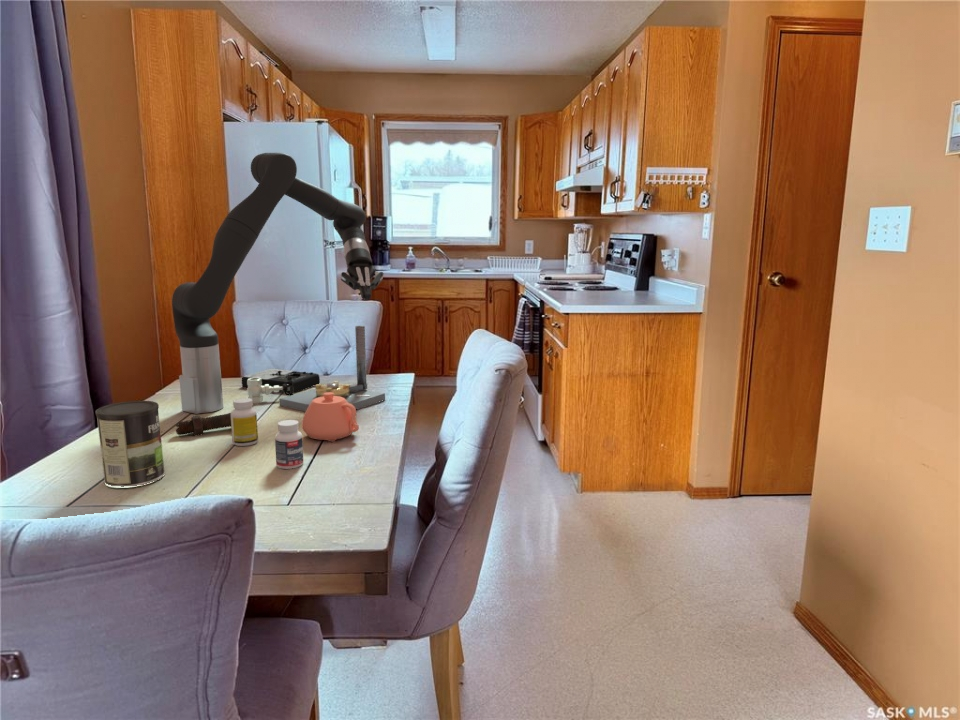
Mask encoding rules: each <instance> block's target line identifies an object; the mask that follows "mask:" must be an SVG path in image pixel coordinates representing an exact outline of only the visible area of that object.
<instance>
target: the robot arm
mask: <svg viewBox="0 0 960 720" xmlns="http://www.w3.org/2000/svg"><path fill="white" fill-rule="evenodd" d="M297 169H298V168H297V163H296V160H295V159H294V157H292V156H291V155H290V154H287V153H284V152H263V153H262V152H261V153H258V154H257V155H255V156H254V158H253V159H252V160H251V162H250V172H251V176H252V178H253V179H254V180H255V181H256V182H257V183H258V184H257V186H256V188H255V189H254V190H253V191H252V192H251V193H250V194H249V195H248V196H247V197H245V198H244V199H243V200H242V201H240V203H238V204H237V205H236V206H235V207H233V209H230V211H229V212H228V214H227V215H226V217H225V218H224V220H223V221H222V222H221V224H220V226H219V228H218V229H217V232H216V233H215V236H214V240H213V245H212V251H211V257H210V259H209V260H210V261H209V262H208V265H207V267H206V268H205V269H204V271H203V273H202V274H201V275H200V278H199V279H197V281H196V282H191V281H190V282H183V283H180V284H179V285H178V286H177V287H175V289H174V291H173V293H172V296H171V297H172V298H171V309H172V316H173V322H174V323H173V325H174V331H175V334H176V336H177V338H178V340H179V341H178V342H179V349H180V361H181V362H180V363H181V373H182V374H180V375H179V376H178V379H179V389H180V390H179V391H180V401H181V411H183V412H187V413H190V414H194V415H199V414H204V413H205V414H206V413H212V412H217V411H219V410H222V409H223V408H224V398H223V397H224V396H223V386H222V385H223V383H222V373H221V371H222V370H221V358H220V348H219V347H220V346H219V344H220V343H219V335H218V333H217V332H216V330H214V329H213V327H212V325H211V321H210V319H212V318H213V317H215V316H216V314H217V313H218V312H219V311H220V309H221V307H222V305H223V302H224V300H225V298H226V296H227V293H228V291H229V289H230V287H231V284H232V283H233V280H234V278H235V276H236V274H237V273H238V272H239V270H240V268H241V266H242V265H243V263H244V261H245V259H246V258H247V256H248V255H249V253H250V251H251V249H252V248H253V246H254V244H255V242H256V241H257V240H258V237H259V236H260V233H261V232H262V230H263V228H264V227H265V225H266V223H267V222H268V220H269V218H270V217H271V215H272V213H273V212H274V210H275V209H276V207H277V206H278V204H279V203H280V201H281V200H282V199H283V197H284V196H287V197H289V198H291V199H293V200H295V201H296V202H297V203H300V204H302V205H304V206H305V207H307V208H308V209H310V210H311V211H313V212H315V213H316V214H317V215H320V216H321V217H323V218H324V219H326V220H328V221H333V222H332V225H333V228H334V229H335V231H336V233H337V234H338V235H339V237H340V239H341V241H342V245H343V255H344V259H345V264H346V268H347V269H346V272H343V271H342V272H341V274H340V280H341V282H343V283H344V284H346V285H347V286H348V287H349V288H350V289H352V290H354V291H357V290H358V291H359V294H360V296H361V297H360V298H361V299H363V300H364V301H369V300H370V299H372V293H373V292H372V291H374V290H375V289H376V288H377V287H378V286H379V284H380V283H381V282H382V281H383V278H384V271H379V272H378V271H377V270H376V268H375V267H374V265H373V260H372V257H371V253H370V247H369V246H368V244H367V241H366V235H365V233H364V231H363V230H362V228H361V227H362V226H363V225H364V224H365V223H366V221H367V215H366V212H365V211H364V209H362V207H360V205H358V204H355V203H353V202H349V201H346V200H342V199H340V198H337V197H335V195H334V194H331V193H330V192H328V191H327V190H325V189H323V188H322V187H319V186H316V185H315V184H312V183H310V182H307V181H305V180H303V179H300V178H299V177H297V172H298V170H297ZM373 278H374V279H373ZM372 279H373V280H372Z"/></svg>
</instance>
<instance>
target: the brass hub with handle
mask: <svg viewBox="0 0 960 720" xmlns="http://www.w3.org/2000/svg"><path fill="white" fill-rule="evenodd" d="M354 331H355V353H356V354H355V355H356V359H355V360H356V383H352V384H343V383H340V381H339V380H334V381H333V382H329V383H327V384H321V383H320V384H316V385H315V386H314V387H315V388H314V389H316V396H317V397H323V394H324V393H327V392H332V393H334V396H340V397H343V398H344V397H347V396H349V395H350V392H352V391H357V390H368V383H367V355H366V354H367V353H366V326H365V325H356V326H355V330H354Z"/></svg>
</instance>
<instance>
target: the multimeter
mask: <svg viewBox="0 0 960 720" xmlns="http://www.w3.org/2000/svg"><path fill="white" fill-rule="evenodd" d="M288 376H292V380H293V384H292V386H293V389H294V391H293V394H296V393H298V392H301V391H304V390H306V388H307V389H309V388H308V387H310V388H312V387H311V386H313V385H316V384H319V383H320V380H321V379H320V374H319V373H315V372H307V371H297V370H296V371H295V370H286V369H277V368H268V369H265V370H261V371H257V372H254V373H250V374H246V375H244V376H242V377H241V386H242V388H244V387H248V385H247V380H248V379H249V378H261V379H262V384H261V385H262V386H265V384H269V386H271V387H274V386H275V385H279V387H282V385H284V383H285V382H289V381H287V378H288ZM320 384H321V383H320ZM313 387H314V386H313ZM303 389H304V390H303ZM278 393H284V392H283V390H279V392H278ZM286 393H288V391H286Z"/></svg>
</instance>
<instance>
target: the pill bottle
mask: <svg viewBox="0 0 960 720" xmlns="http://www.w3.org/2000/svg"><path fill="white" fill-rule="evenodd" d="M299 425H300V424H299V421H298V420H296V419H285V420H280V421H278V422H277V431H278V432H277V433H276V434H275V436H274V446H275V462H276V463H275V464H276V467H277V468H279V469H283V470H290V469H292V468H293V469H297V468H300V467H302V466H303V464H304V446H303V445H304V443H303V434H302V432H301V431H299V428H300V427H299Z"/></svg>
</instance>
